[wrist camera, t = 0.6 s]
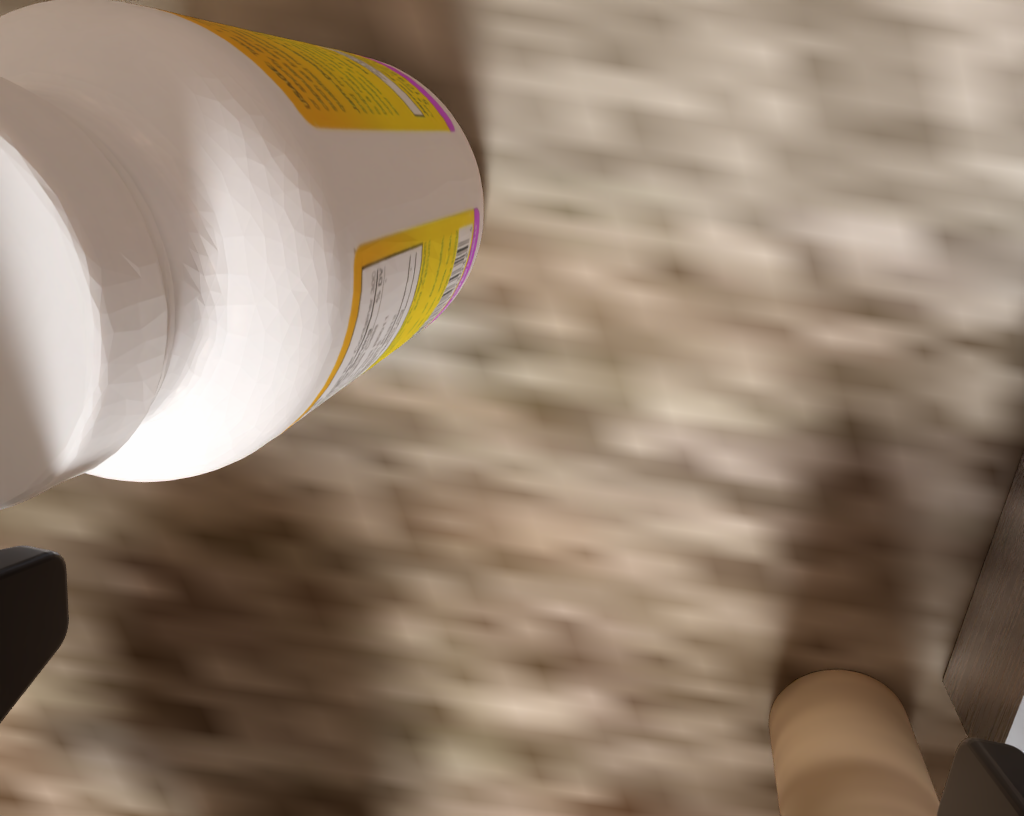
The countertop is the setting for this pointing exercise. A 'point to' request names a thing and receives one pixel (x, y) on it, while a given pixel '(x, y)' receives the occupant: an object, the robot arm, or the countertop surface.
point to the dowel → (846, 750)
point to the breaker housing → (994, 636)
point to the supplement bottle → (205, 236)
